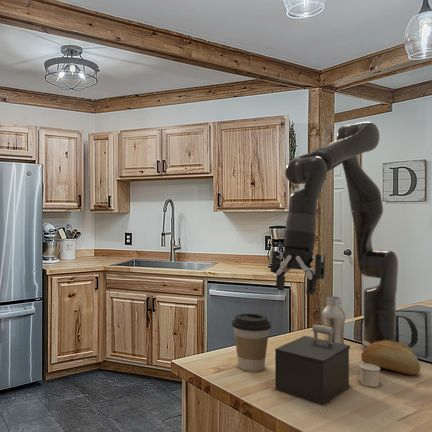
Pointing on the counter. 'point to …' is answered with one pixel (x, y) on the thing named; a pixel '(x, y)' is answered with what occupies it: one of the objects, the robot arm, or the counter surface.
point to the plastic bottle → (334, 319)
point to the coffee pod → (369, 375)
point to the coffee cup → (251, 340)
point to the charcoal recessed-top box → (312, 377)
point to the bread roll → (391, 356)
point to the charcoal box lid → (314, 346)
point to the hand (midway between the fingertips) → (294, 292)
